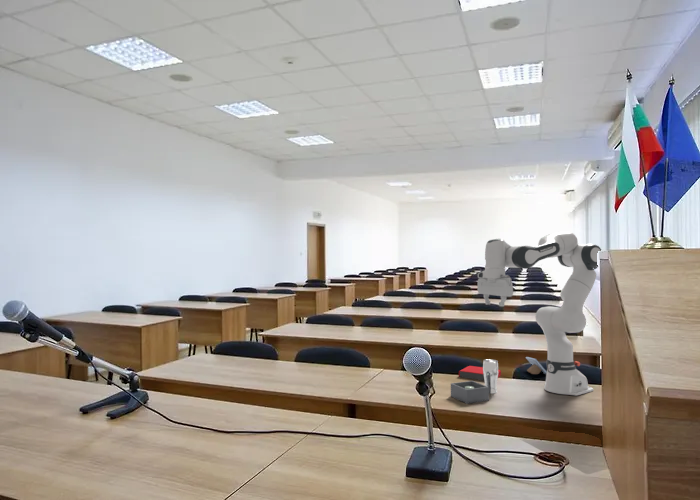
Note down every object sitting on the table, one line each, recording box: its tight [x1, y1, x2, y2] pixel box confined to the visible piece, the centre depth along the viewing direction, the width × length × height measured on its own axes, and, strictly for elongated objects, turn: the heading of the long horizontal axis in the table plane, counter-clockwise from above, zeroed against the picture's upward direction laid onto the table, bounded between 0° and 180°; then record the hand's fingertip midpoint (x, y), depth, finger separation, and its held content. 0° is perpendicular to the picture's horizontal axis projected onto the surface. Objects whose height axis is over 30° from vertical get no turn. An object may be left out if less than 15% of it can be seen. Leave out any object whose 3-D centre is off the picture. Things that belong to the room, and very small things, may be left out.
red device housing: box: [458, 365, 502, 381], centre depth 251 cm, size 18×14×5 cm
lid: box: [525, 356, 547, 375], centre depth 255 cm, size 12×12×6 cm
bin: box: [450, 380, 490, 405], centre depth 216 cm, size 12×12×6 cm
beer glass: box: [482, 358, 499, 394], centre depth 225 cm, size 7×7×15 cm
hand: (494, 305), depth 215 cm, fingers open, 8 cm apart
